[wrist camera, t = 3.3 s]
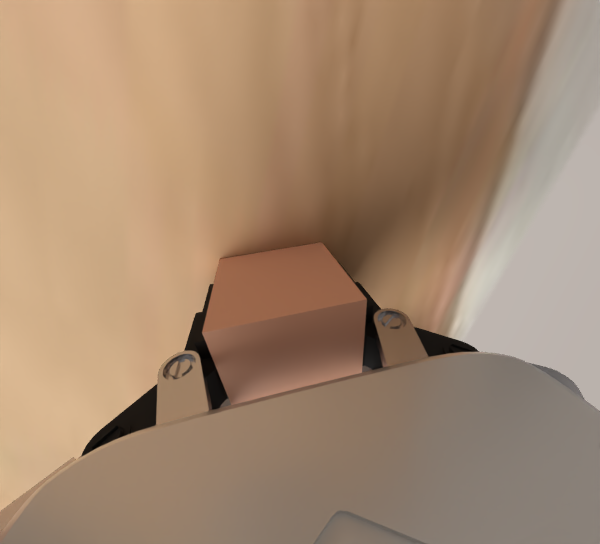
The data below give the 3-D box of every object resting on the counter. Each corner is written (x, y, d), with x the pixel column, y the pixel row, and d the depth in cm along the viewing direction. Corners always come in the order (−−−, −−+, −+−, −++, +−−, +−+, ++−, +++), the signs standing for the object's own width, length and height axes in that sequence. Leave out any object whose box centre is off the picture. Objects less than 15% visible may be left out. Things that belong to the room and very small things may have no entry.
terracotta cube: (219, 259, 11) (201, 332, 7) (321, 242, 11) (366, 299, 7) (242, 336, 13) (240, 426, 9) (325, 318, 14) (360, 395, 10)
